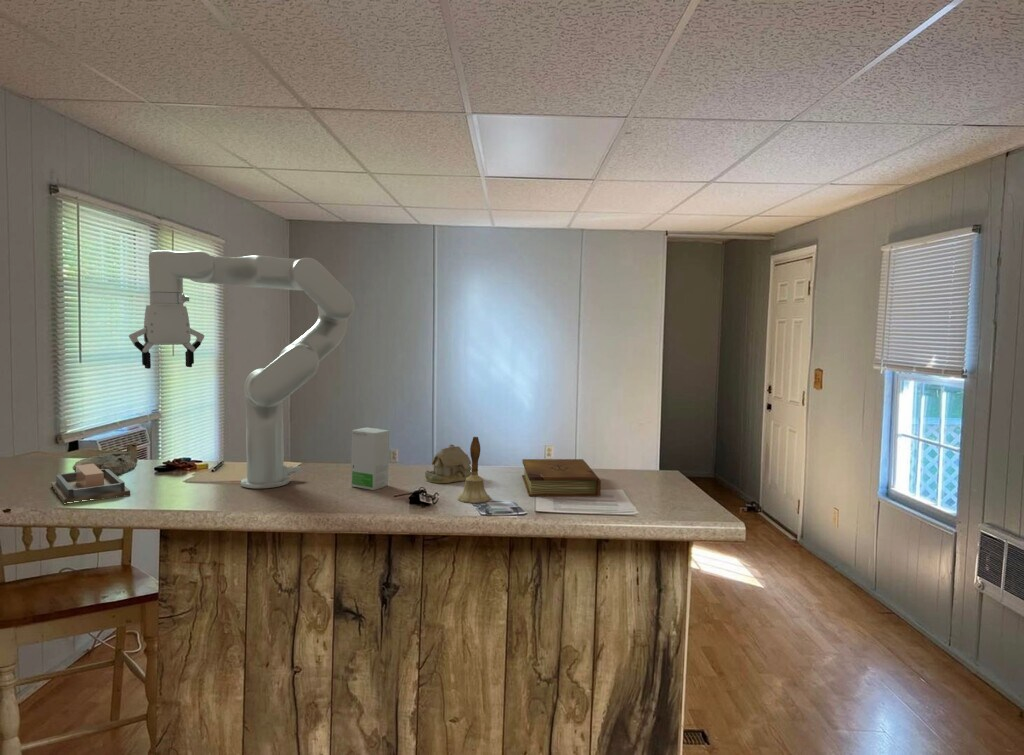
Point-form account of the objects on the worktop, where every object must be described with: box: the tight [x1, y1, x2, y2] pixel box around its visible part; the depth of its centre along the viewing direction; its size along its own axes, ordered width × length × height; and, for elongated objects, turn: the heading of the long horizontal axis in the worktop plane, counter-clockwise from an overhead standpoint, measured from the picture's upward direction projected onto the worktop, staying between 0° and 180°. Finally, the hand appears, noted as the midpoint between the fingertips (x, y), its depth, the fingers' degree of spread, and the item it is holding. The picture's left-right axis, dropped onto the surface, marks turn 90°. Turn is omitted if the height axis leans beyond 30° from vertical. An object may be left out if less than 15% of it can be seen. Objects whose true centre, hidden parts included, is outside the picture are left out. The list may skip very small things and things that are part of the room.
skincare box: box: [350, 426, 390, 491], centre depth 180 cm, size 8×7×16 cm
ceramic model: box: [424, 444, 472, 484], centre depth 190 cm, size 14×11×10 cm
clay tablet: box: [72, 451, 139, 476], centre depth 197 cm, size 14×5×20 cm
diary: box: [521, 458, 602, 498], centre depth 184 cm, size 23×19×6 cm
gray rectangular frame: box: [50, 469, 131, 504], centre depth 172 cm, size 14×22×3 cm, turn 41°
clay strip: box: [76, 464, 104, 488], centre depth 172 cm, size 4×14×4 cm, turn 41°
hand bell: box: [457, 436, 491, 504], centre depth 168 cm, size 8×8×16 cm
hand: (168, 367), depth 169 cm, fingers open, 9 cm apart
